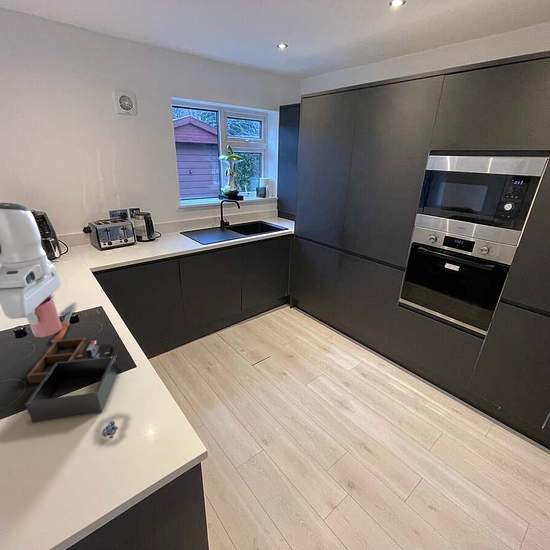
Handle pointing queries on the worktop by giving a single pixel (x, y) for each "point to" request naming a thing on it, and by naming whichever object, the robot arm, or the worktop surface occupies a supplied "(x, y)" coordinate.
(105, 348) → the tap panel
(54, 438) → the worktop surface
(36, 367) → the wooden divided tray
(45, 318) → the cup
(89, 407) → the dark grey open box
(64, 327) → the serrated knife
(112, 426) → the blueberries
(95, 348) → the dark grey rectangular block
